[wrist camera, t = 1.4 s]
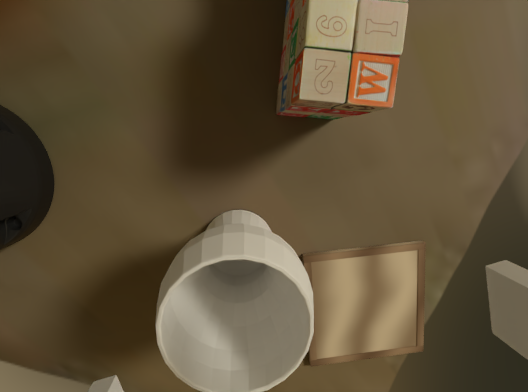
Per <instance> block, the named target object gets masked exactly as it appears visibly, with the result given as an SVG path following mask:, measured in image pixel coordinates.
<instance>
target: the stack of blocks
mask: <svg viewBox="0 0 528 392" xmlns="http://www.w3.org/2000/svg"><path fill="white" fill-rule="evenodd" d="M408 1H409V0H287V4H286V15H285V18H286V19H285V28H284V40H283V52H282V56H281V66H280V77H279V86H278V96H277V107H276V115H284V116H296V117H312V118H323V119H332V120H333V119H338V118H343V117H348V116H354V115H361V114H366V113H370V112H372V111H377V110H382V109H387V108H392V107H393V101H394V94H395V87H396V80H397V74H398V67H399V56H400V55H401V54H402V51H403V43H404V35H405V28H406V21H407V12H408V3H407V2H408Z"/></svg>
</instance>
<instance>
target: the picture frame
mask: <svg viewBox="0 0 528 392" xmlns="http://www.w3.org/2000/svg"><path fill="white" fill-rule="evenodd" d="M425 245H426V243H425V242H424V241H413V242H404V243H396V244H387V245H378V246H369V247H360V248H351V249H342V250H333V251H324V252H315V253H307V254H302V257H303V266H304V268H305V270H306V272H307V274H308V276H309V280H310V283H311V287H312V291H313V304H314V333H313V337H312V340H311V343H310V347H309V363H310V366H318V365H326V364H333V363H340V362H348V361H355V360H362V359H370V358H377V357H384V356H392V355H399V354H406V353H414V352H421V351H423V344H424V343H423V342H424V295H425Z"/></svg>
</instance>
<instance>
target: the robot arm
mask: <svg viewBox="0 0 528 392" xmlns="http://www.w3.org/2000/svg"><path fill="white" fill-rule="evenodd" d="M53 192H54V176H53V169H52V165H51V162H50V159H49V156H48V154H47V151H46V149H45V148H44V146H43V144H42V142H41V141H40V139H39V138H38V136H37V135H36V134H35V132H34V131H33V130H32V129H31V128H30V127H29V126H28V125H27V124H26V123H25V122H24V121H23V120H22V119H21V118H20V117H18V116H17V115H16V114H14V113H13V112H11V111H10V110H8V109H7V108H5V107H3V106H1V105H0V249H2V248H4V247H6V246H9V245H11V244H13V243H15V242H17V241H20V240H21V239H23V238H25V237H26V236H28V235H29V234H30V233H32V232H33V231H34V230H35V229H36V228H37V227H38V226H39V225H40V223H41V222H42V221H43V219H44V218H45V216H46V214H47V212H48V210H49V208H50V205H51V202H52V198H53ZM486 276H487V286H488V295H489V305H490V314H491V324H492V333H493V334H495V335H496V336H497V337H499V338H500V339H501V340H503V341H504V342H505V343H506V344H508V345H509V346H511V347H512V348H513V349H515V350H516V351H517V352H518V353H520V354H521V355H522V356H524V357H525V358H526V359H527V360H528V270H527V269H524V268H522V267H520V266H518V265H516V264H513V263H511V262H509V261H507V260H505V261H501V262H497V263H494V264H491V265H487V266H486ZM88 392H124V391H123V389H122V387H121V385H120V382H119V380H118V378H117V376H116V375H114V376H111V377H108V378H104V379H101V380H97V381H94V382H93V383H92V385H91V387H90V388H89V390H88Z"/></svg>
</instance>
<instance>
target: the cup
mask: <svg viewBox="0 0 528 392" xmlns="http://www.w3.org/2000/svg"><path fill="white" fill-rule="evenodd" d="M155 327H156V336H157V344H158V347H159V349H160V352H161V354H162V356H163V359H164V361H165V363H166V364H167V365H168V366H169V368H170V369H171V370H172V371H173V373H174V374H175V375H176V376H177V377H178V378H179V379H181V380H182V381H184V382H185V383H186V384H188V385H189V386H191V387H192V388H194V389H197V390H199V391H202V392H263V391H266V390H269V389H270V388H272V387H274V386H275V385H277V384H279V383H280V382H282V381H284V380H285V379H286V378H287V377H288V376H289V375H290V374H291V373H292V372H293V371H295V370H296V369H297V368H298V366H299V365H300V363H301V362H302V360H303V358H304V357H305V355H306V354H307V352H308V350H309V347H310V343H311V340H312V337H313V333H314V304H313V291H312V287H311V283H310V280H309V276H308V274H307V272H306V270H305V268H304V266H303V264H302V262H301V261H300V259H299V257H298V256H297V254H296V253H295V251H294V249H293V248H292V247H291V246H290V245H289V244H287V243H286V242H285V241H284V240H283V239H282V238H281V237H280V236H278V235H276V234H274V233H272V232H271V229H270V228H269V226H268V225H267V223H266V222H265V221H264V220H263V219H262V218H261V217H260V216H258V215H256V214H254V213H252V212H249V211H245V210H231V211H228V212H225V213H222V214H221V215H219V216H217V217H216V218H215V219H214V220H213V221H212V222H211V223H210V224H209V225H208V227H207V229H206V231H204V232H203V233H201V234H199V235H198V236H196V237H195V238H193V239H191V240H190V241H189V242H188V243H187V244H186V245H185V246H184V247H183V248H182V249H181V250H180V251H179V252H178V253H177V255H176V256H175V258H174V260H173V262H172V263H171V265H170V267H169V269H168V271H167V273H166V275H165V276H164V278H163V280H162V282H161V286H160V291H159V296H158V301H157V311H156V323H155Z"/></svg>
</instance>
